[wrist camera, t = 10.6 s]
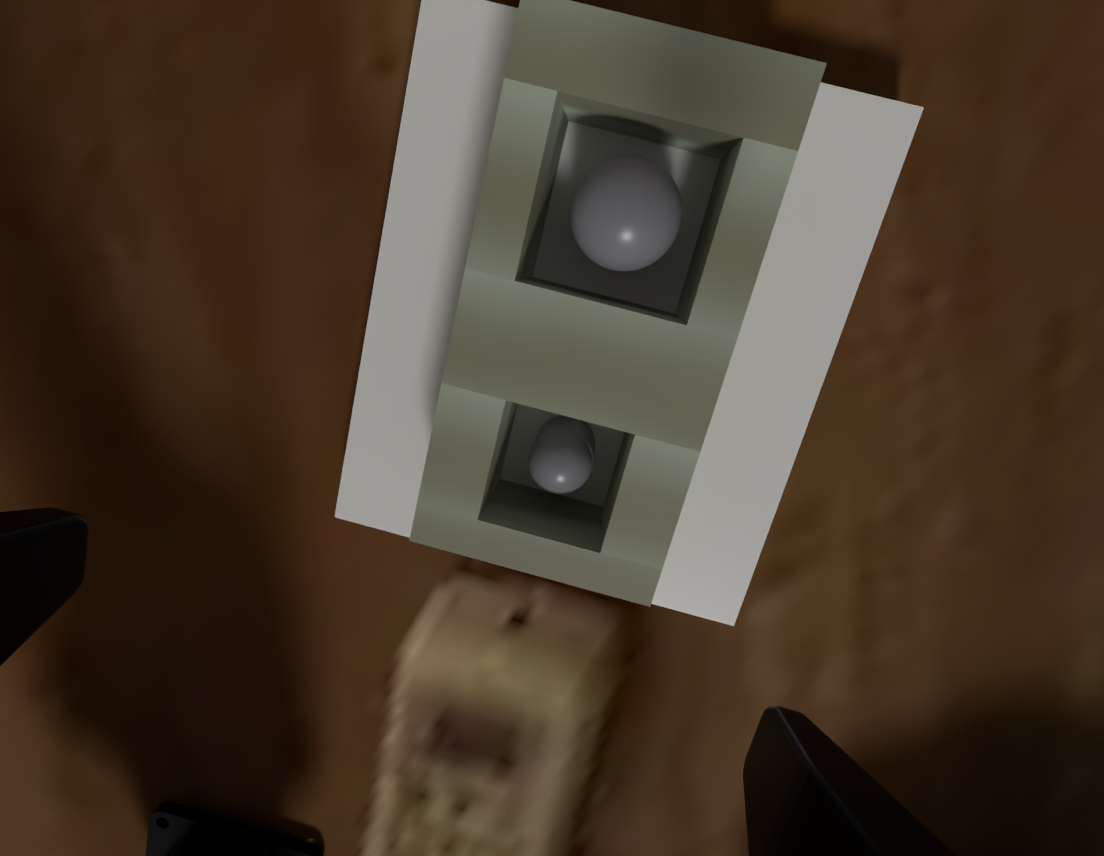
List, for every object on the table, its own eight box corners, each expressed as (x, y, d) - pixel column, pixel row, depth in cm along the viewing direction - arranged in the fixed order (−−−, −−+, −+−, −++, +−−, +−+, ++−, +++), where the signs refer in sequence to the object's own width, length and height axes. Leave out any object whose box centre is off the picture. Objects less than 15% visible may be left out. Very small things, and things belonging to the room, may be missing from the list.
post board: (725, 600, 20) (758, 706, 16) (354, 498, 21) (274, 571, 16) (897, 120, 17) (1010, 64, 12) (440, 8, 17) (369, -91, 12)
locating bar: (540, 38, 16) (522, -12, 13) (787, 99, 15) (827, 63, 13) (441, 497, 19) (409, 540, 16) (645, 552, 19) (649, 606, 16)
